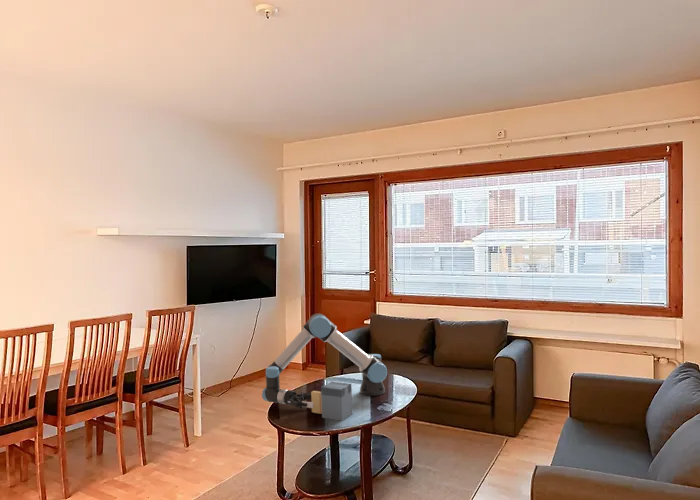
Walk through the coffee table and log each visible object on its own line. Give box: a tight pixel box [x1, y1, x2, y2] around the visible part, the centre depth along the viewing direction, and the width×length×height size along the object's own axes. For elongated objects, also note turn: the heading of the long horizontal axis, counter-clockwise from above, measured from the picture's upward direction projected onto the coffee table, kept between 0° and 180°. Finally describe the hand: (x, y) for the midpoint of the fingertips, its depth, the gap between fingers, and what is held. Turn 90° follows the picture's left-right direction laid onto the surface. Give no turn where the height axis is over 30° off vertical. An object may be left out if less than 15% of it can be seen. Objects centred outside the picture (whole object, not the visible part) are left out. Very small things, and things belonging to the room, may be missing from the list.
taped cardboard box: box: [310, 390, 322, 415], centre depth 266 cm, size 15×3×11 cm, turn 62°
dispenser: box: [320, 381, 353, 421], centre depth 263 cm, size 13×11×16 cm
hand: (319, 401), depth 267 cm, fingers open, 13 cm apart
